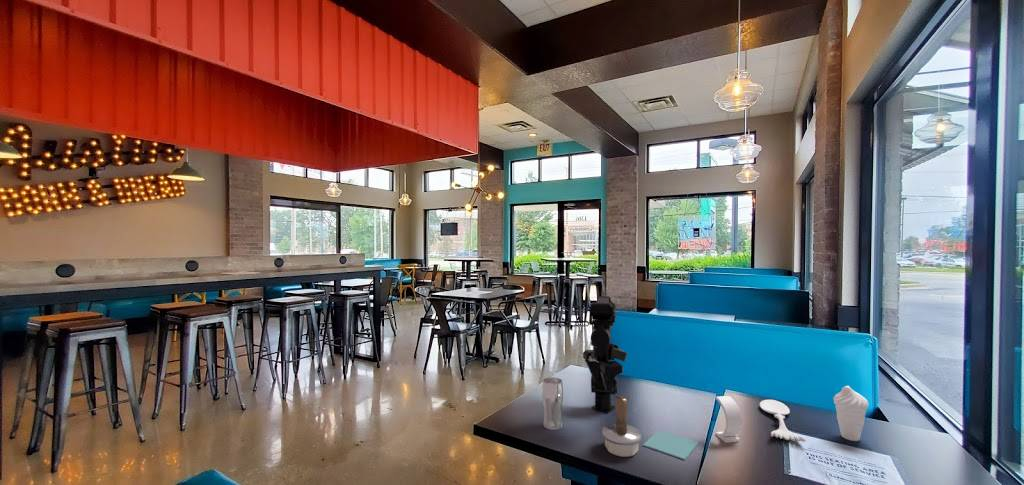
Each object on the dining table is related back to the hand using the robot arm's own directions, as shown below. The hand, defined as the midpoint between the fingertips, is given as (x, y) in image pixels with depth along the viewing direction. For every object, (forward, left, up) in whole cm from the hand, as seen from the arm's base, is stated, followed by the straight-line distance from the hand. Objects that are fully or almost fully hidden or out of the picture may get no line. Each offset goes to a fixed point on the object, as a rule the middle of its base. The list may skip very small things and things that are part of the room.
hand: (601, 386), depth 137 cm
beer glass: (+13, -11, -12) cm, 21 cm away
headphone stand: (-15, +35, -12) cm, 40 cm away
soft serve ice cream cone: (-40, +63, -12) cm, 76 cm away
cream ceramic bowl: (+12, +13, -12) cm, 21 cm away
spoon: (-37, +45, -13) cm, 60 cm away
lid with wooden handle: (+12, +13, -8) cm, 19 cm away
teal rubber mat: (0, +23, -12) cm, 26 cm away
